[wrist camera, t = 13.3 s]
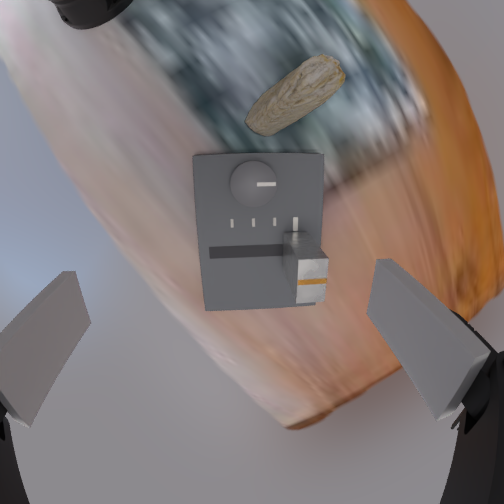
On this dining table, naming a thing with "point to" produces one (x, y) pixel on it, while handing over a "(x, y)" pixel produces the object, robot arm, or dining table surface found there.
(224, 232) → the console
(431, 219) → the dining table surface
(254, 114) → the fossil tooth
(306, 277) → the fader
